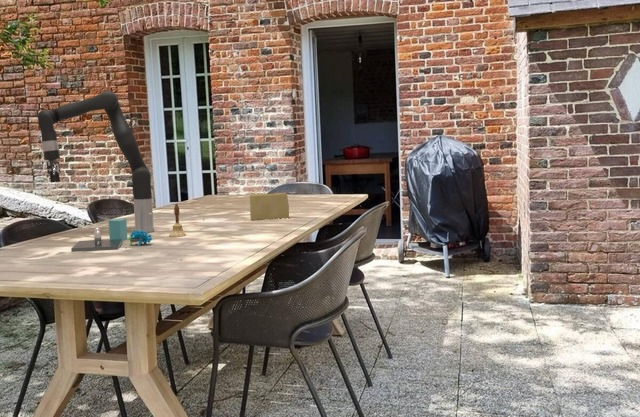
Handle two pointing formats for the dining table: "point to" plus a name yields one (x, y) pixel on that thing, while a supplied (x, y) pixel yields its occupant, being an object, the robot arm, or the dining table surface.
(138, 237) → the blue spiky toy
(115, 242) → the mount plate
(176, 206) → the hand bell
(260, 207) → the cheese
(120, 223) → the cap
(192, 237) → the dining table surface
